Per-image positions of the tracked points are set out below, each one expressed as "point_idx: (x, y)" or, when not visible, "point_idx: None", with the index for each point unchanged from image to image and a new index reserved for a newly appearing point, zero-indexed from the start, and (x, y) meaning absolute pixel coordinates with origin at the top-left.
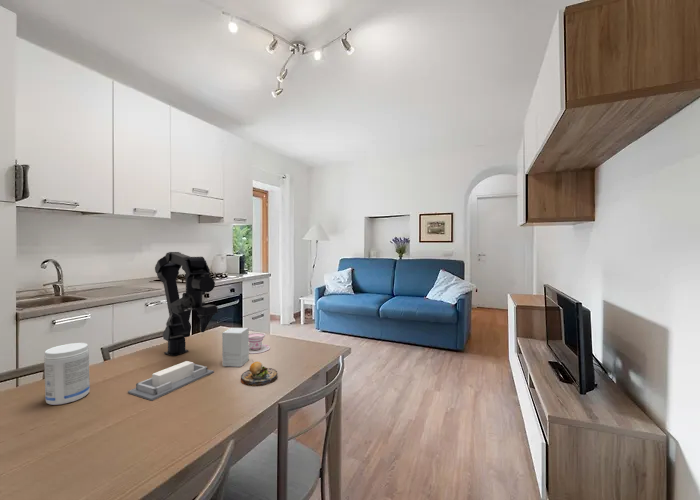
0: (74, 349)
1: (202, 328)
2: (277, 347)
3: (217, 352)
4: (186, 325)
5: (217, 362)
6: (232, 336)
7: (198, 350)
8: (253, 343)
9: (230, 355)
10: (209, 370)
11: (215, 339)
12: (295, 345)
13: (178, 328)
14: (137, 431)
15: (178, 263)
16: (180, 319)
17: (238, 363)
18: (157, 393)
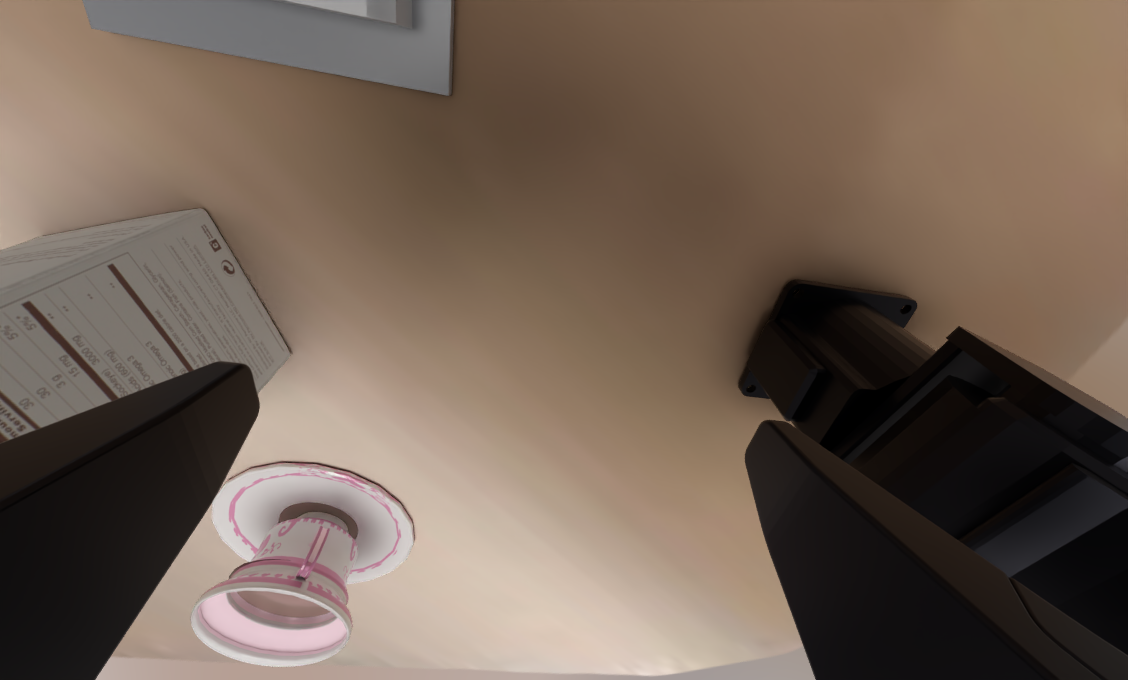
0: None
1: (92, 412)
2: (221, 572)
3: (513, 427)
4: (781, 506)
5: (333, 270)
6: None
7: (677, 421)
8: (270, 551)
9: (23, 255)
10: (142, 23)
11: (692, 571)
12: (158, 611)
13: (951, 484)
14: None
15: None
16: (1084, 631)
17: (25, 242)
18: None
